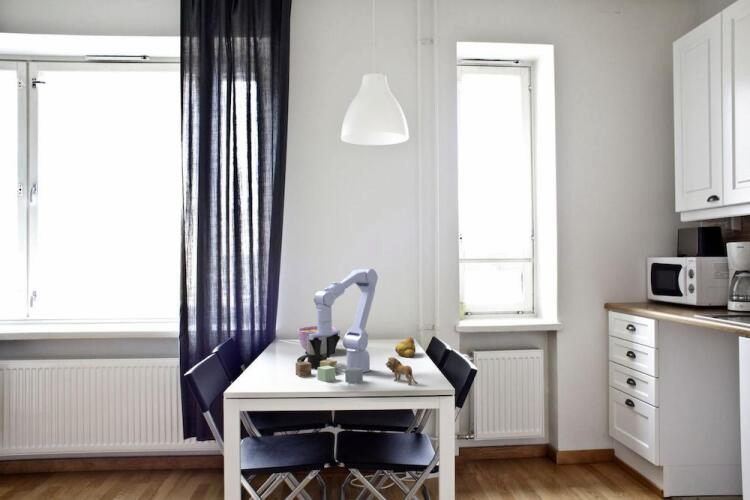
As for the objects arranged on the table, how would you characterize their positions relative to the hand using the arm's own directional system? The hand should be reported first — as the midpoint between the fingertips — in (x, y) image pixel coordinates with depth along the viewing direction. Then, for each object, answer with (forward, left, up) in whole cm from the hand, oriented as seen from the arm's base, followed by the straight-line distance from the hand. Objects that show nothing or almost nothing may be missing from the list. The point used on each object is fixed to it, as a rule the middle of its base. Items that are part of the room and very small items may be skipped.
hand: (325, 355), depth 207 cm
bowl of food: (-31, -48, -10) cm, 58 cm away
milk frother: (-11, -25, -10) cm, 29 cm away
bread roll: (-56, -10, -10) cm, 58 cm away
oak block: (-8, -9, -10) cm, 16 cm away
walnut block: (+2, -13, -10) cm, 16 cm away
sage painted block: (0, 0, -10) cm, 10 cm away
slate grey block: (-6, +10, -10) cm, 16 cm away
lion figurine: (-19, +23, -10) cm, 32 cm away
